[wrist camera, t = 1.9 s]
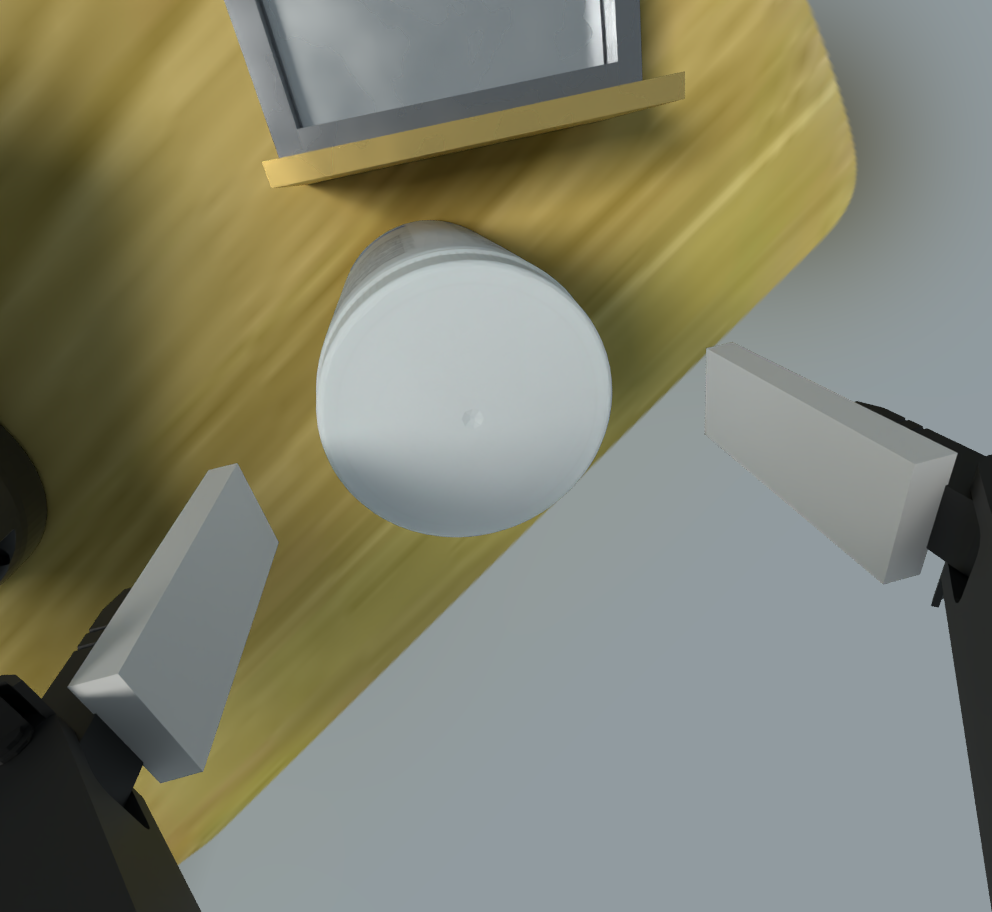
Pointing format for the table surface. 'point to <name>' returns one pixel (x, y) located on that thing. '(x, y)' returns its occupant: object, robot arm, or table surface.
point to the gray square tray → (434, 76)
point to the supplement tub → (458, 383)
